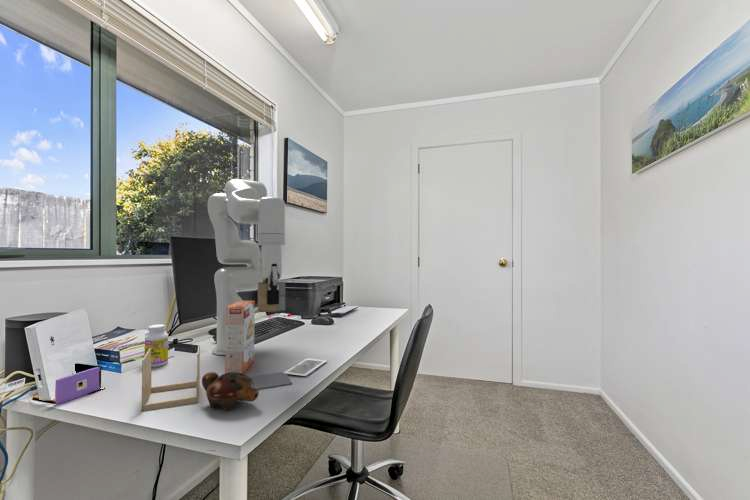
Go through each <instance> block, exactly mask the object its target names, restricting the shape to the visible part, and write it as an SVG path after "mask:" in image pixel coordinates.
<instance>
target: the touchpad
mask: <svg viewBox="0 0 750 500" xmlns="http://www.w3.org/2000/svg"><path fill="white" fill-rule="evenodd" d="M327 361H328V360H326V359H318V358H317V359H316V358H306V357H305V359H303V360H302V361H300V362H299V363H297V364H295V365H293V366H292V367H290V368H289V369H287V370H286V371H285V370H284V371H283V372H284V373H285V374H287V375H294V376H302V377H307V376H308V375H310V374H311V373H312V372H314V371H315V370H316V369H317V368H319V367H321V366H322V365H323V364H325V363H326V362H327Z"/></svg>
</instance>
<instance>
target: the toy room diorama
mask: <svg viewBox="0 0 750 500" xmlns="http://www.w3.org/2000/svg"><path fill="white" fill-rule="evenodd" d="M74 364H75V371H76V374H73V373H72V374H70V375H67V376H64V377H60V378H57V379H56V380H55V399H53V400H50V401H42V400H39V397H38V395H39V394H37V395H34V396H32V398H31V400H33V401H36V402H42V403H46V404H51V405H60V404H63V403H66V402H69V401H72V400H74V399H75V400H76V399H77V398H80V397H82V396H85V395H87V396H91V395H93V394H96V393H98V392H102V391H104V390H106V389H105V388H106V387H104V389H102V391H101V389H100V388H101V387H102V368H101V366H100V365H94V364H88V363H86V364H85V363H77V362H76V363H74Z"/></svg>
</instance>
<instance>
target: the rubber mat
mask: <svg viewBox="0 0 750 500" xmlns="http://www.w3.org/2000/svg"><path fill="white" fill-rule="evenodd" d="M284 372H285V371H280V372H274V373H267V374H259V375H253V376H252V375H251V376H250V379H251V381H252V387H253V388H256V389H257V390H258V391H260V390H264V389H271V388H278V387H283V386H288V385H292V384H293V382H292V381H291V379H290V377H289V376H288V374H285V373H284Z"/></svg>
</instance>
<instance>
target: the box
mask: <svg viewBox="0 0 750 500" xmlns="http://www.w3.org/2000/svg"><path fill="white" fill-rule="evenodd" d="M270 283H271V282H270ZM278 283H279V304H274V305H268V304H267V290H268V282H265V281H263V282H258V290H257V311H258V312H259V313H266V312H267V313H269V312H284V311H286V282H284V281H280V280H278Z"/></svg>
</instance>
